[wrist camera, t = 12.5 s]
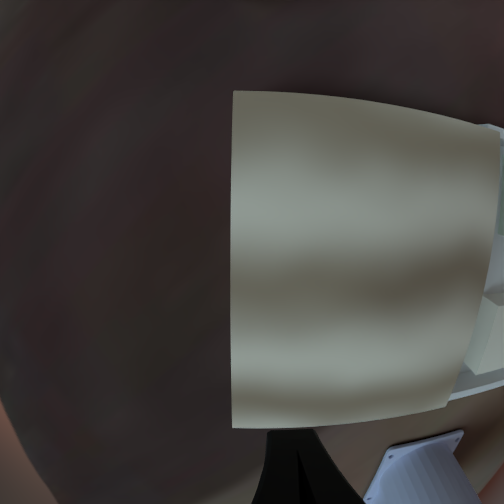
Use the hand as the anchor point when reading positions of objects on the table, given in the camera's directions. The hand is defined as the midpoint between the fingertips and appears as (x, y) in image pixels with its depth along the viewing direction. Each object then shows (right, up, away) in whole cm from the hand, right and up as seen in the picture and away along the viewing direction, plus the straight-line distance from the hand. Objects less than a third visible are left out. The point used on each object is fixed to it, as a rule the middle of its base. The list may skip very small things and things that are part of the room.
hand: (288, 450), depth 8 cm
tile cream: (+16, 0, +7) cm, 18 cm away
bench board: (+5, +5, +8) cm, 11 cm away
